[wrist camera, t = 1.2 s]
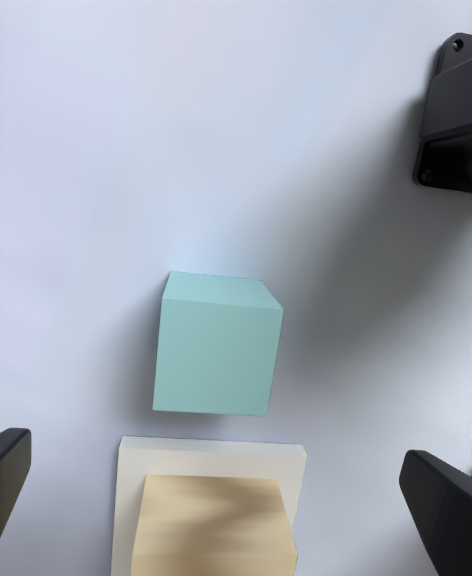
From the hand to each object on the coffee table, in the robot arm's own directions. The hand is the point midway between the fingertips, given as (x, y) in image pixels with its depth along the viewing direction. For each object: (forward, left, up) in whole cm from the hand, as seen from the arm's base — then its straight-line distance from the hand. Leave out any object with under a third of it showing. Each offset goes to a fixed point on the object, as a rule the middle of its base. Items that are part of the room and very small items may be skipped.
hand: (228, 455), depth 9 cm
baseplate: (-1, +12, -10) cm, 16 cm away
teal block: (0, 0, -11) cm, 11 cm away
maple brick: (-1, +12, -9) cm, 15 cm away
